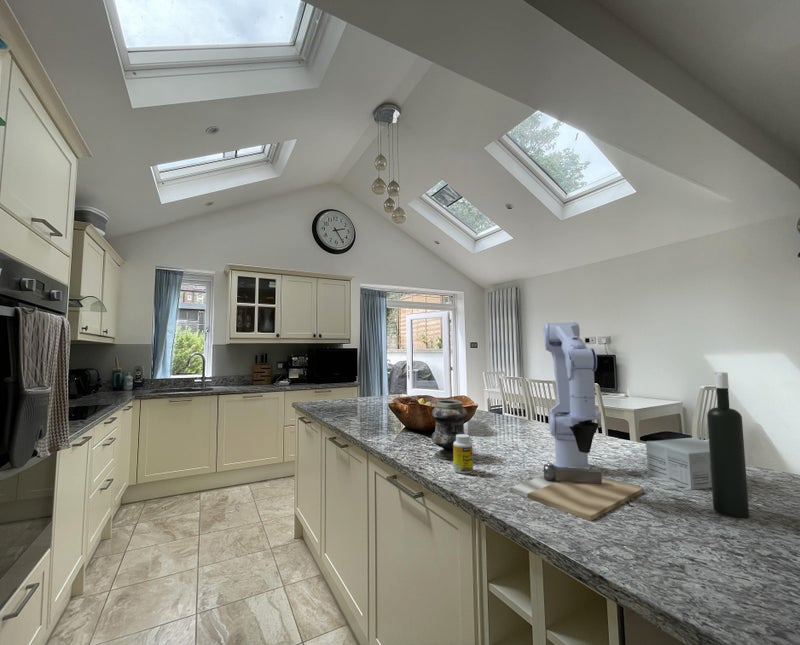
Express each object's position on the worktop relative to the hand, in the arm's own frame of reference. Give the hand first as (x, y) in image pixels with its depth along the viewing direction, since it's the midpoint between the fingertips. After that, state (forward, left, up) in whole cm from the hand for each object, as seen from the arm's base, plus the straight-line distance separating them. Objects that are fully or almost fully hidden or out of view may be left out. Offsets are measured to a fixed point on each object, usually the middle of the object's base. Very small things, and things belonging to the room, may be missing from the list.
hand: (584, 452), depth 92 cm
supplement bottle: (+12, -30, -10) cm, 34 cm away
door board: (+1, -2, -10) cm, 10 cm away
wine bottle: (-14, +24, -10) cm, 30 cm away
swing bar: (-2, -5, -9) cm, 10 cm away
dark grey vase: (+4, -44, -10) cm, 45 cm away
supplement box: (-34, +12, -10) cm, 37 cm away
